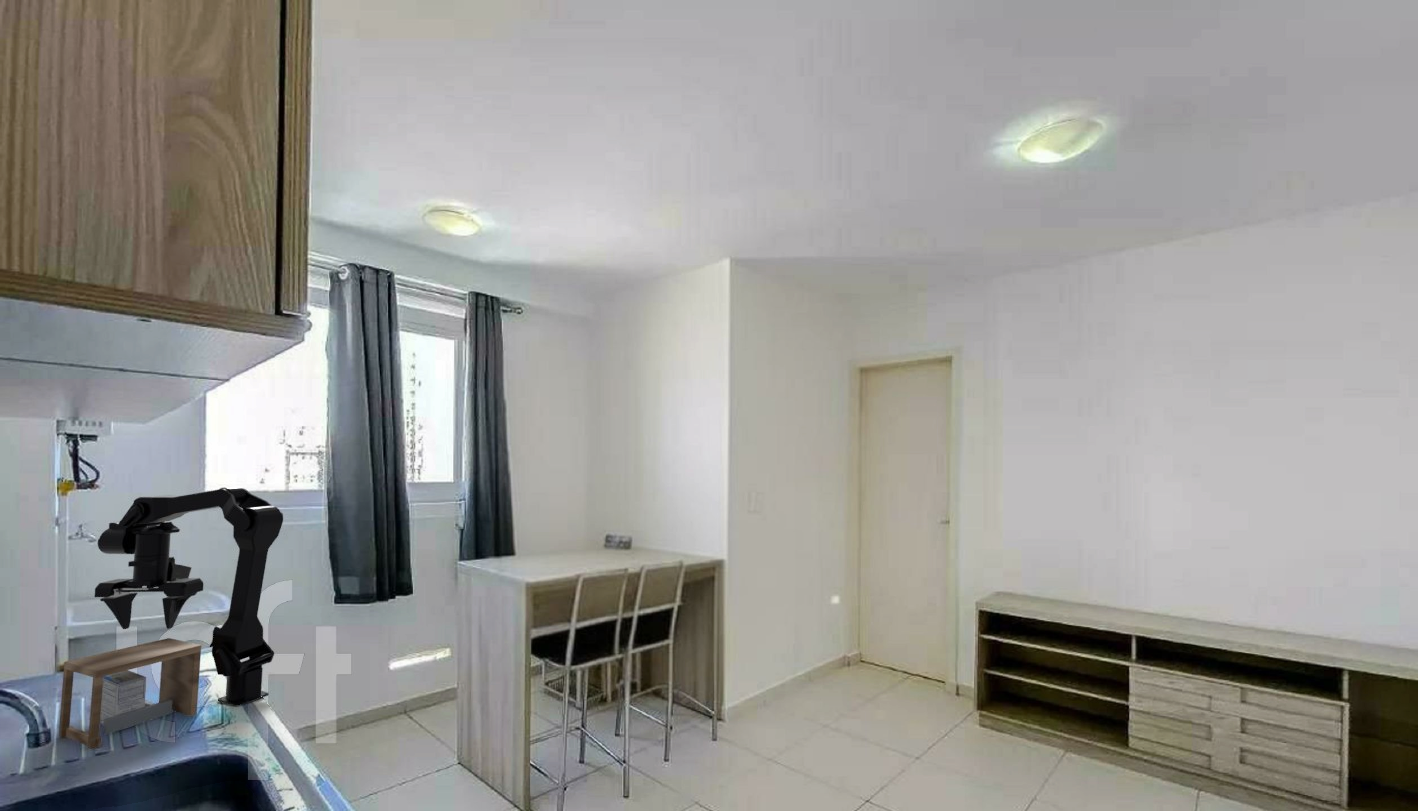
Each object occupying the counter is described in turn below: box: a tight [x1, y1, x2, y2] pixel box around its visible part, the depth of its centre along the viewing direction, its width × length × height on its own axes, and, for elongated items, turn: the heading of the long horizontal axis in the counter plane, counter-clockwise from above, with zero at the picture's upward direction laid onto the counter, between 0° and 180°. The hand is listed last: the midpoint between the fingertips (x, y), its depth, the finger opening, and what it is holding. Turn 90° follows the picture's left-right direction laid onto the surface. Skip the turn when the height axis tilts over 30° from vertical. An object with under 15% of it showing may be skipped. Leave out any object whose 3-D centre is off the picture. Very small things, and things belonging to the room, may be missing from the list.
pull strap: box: [102, 699, 174, 735], centre depth 123 cm, size 23×11×6 cm, turn 67°
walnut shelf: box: [58, 637, 202, 751], centre depth 118 cm, size 11×16×13 cm
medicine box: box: [100, 670, 147, 726], centre depth 119 cm, size 8×4×9 cm, turn 62°
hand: (147, 628), depth 135 cm, fingers open, 9 cm apart
